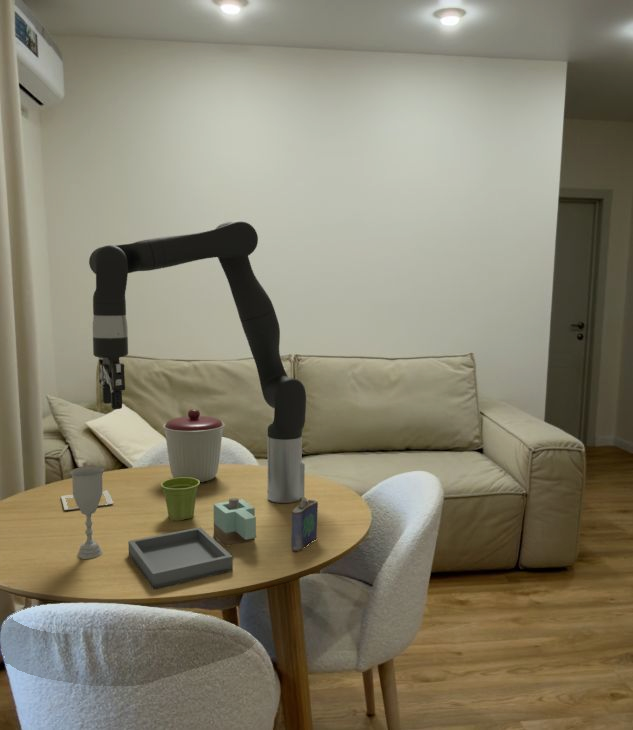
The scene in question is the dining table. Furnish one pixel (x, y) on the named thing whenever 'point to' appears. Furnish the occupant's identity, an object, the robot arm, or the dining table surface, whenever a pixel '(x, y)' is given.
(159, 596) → the dining table surface
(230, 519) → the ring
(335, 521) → the dining table surface
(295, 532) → the flask
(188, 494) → the plant pot
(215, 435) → the canister
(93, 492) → the chalice
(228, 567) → the tray
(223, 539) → the brown peg stand
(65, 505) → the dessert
